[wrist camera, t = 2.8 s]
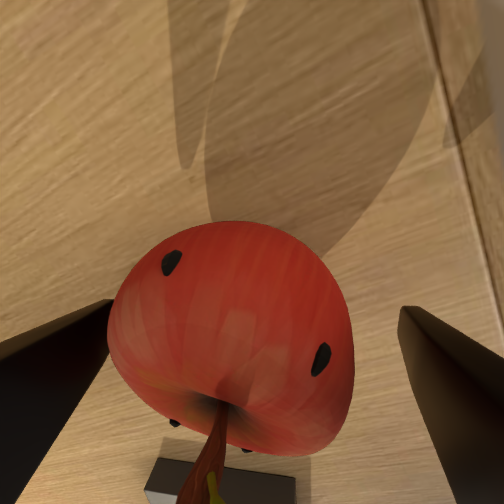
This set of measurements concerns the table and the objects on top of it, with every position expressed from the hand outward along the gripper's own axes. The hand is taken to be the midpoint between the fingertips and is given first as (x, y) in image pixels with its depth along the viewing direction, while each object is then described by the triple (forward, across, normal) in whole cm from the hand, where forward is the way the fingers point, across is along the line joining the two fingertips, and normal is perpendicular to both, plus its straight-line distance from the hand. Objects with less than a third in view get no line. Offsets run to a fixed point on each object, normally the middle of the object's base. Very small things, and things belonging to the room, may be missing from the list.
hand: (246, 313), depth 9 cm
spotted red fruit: (+4, 0, 0) cm, 4 cm away
